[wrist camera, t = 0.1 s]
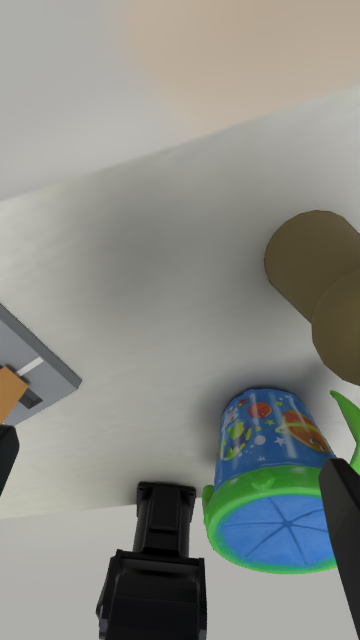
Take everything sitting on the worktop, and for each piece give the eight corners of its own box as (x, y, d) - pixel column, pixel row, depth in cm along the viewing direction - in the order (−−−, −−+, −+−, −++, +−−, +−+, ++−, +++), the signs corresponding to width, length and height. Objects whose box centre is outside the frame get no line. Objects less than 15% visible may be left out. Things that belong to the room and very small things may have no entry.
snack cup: (240, 477, 33) (255, 600, 24) (164, 429, 30) (148, 549, 21) (372, 399, 26) (459, 526, 18) (292, 328, 23) (348, 438, 15)
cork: (366, 206, 19) (536, 268, 9) (348, 295, 22) (464, 411, 12) (266, 214, 19) (330, 280, 10) (262, 299, 22) (308, 414, 13)
